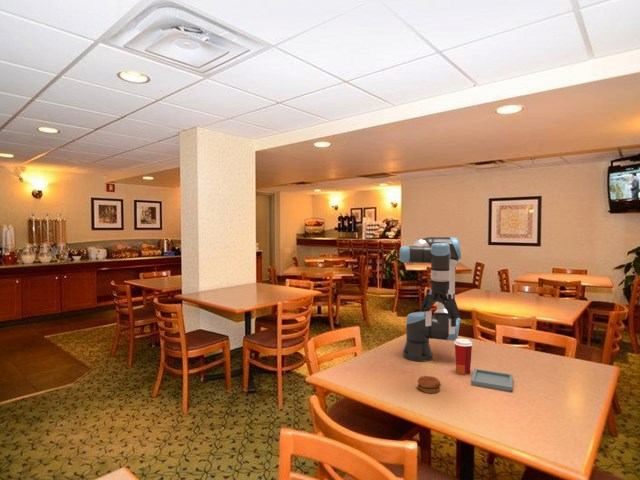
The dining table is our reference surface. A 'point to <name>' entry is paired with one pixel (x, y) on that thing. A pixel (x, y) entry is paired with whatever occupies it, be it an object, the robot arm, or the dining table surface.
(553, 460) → the dining table surface
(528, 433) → the dining table surface
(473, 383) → the tray
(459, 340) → the coffee cup
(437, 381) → the burger
